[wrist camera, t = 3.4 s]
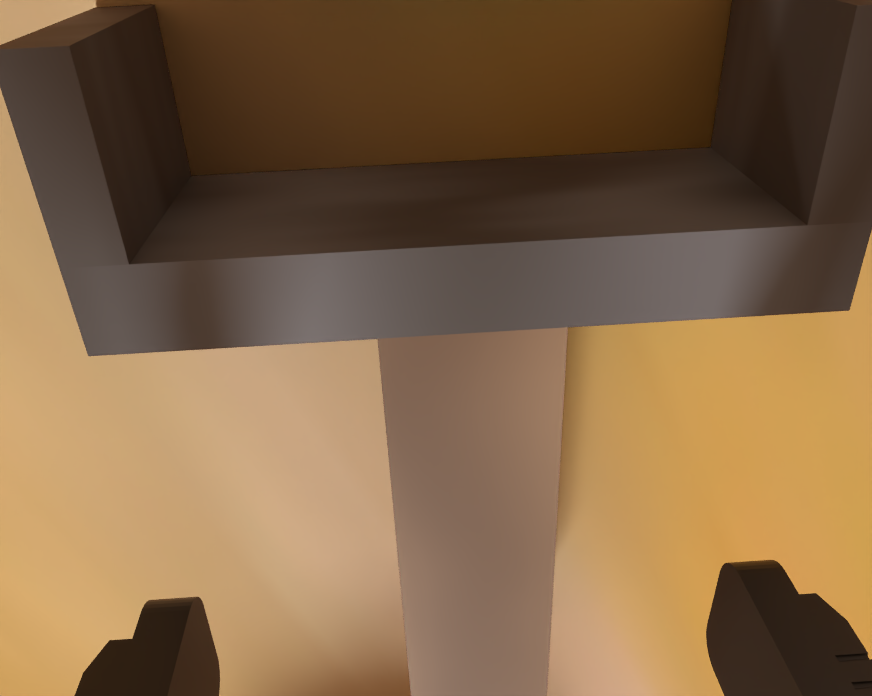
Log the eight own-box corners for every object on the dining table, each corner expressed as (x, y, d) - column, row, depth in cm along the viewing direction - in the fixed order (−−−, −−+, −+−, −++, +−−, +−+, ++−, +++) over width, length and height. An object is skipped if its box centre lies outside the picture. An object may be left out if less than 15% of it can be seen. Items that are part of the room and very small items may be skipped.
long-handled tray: (793, -28, 13) (934, 0, 10) (676, 613, 22) (729, 749, 18) (95, 7, 13) (-12, 49, 9) (254, 642, 21) (228, 785, 18)
